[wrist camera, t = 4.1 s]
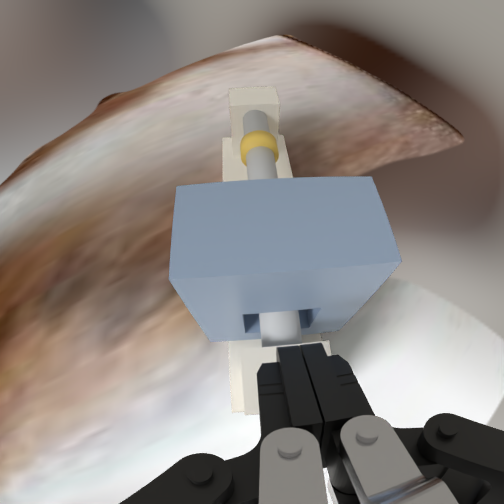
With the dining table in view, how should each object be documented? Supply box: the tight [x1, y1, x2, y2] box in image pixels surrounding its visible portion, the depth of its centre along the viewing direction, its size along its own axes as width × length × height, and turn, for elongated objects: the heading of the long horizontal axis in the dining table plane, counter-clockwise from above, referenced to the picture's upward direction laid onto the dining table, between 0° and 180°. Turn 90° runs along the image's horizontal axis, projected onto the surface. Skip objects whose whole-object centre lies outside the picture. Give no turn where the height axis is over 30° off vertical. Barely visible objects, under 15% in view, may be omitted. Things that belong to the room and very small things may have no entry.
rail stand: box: [222, 87, 331, 415], centre depth 20 cm, size 24×6×6 cm, turn 4°
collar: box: [169, 177, 402, 342], centre depth 15 cm, size 4×8×10 cm, turn 94°
